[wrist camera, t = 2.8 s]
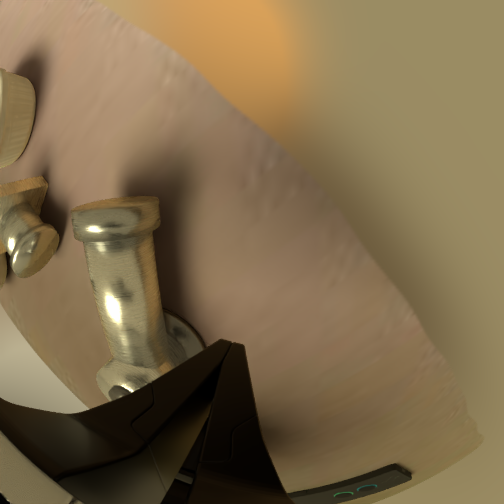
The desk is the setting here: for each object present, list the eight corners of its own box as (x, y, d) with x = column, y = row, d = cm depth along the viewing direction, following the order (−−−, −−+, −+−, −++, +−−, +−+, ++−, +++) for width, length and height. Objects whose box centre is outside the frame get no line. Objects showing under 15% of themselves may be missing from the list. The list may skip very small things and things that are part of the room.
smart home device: (413, 480, 22) (305, 510, 29) (412, 471, 24) (306, 502, 31) (394, 470, 21) (275, 500, 28) (393, 459, 23) (277, 492, 30)
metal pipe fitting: (227, 354, 20) (202, 412, 14) (178, 390, 23) (152, 436, 17) (43, 171, 18) (-8, 182, 13) (26, 233, 21) (-15, 251, 16)
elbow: (194, 378, 21) (164, 434, 15) (141, 364, 22) (105, 410, 16) (174, 195, 16) (107, 218, 10) (109, 197, 17) (41, 218, 11)
